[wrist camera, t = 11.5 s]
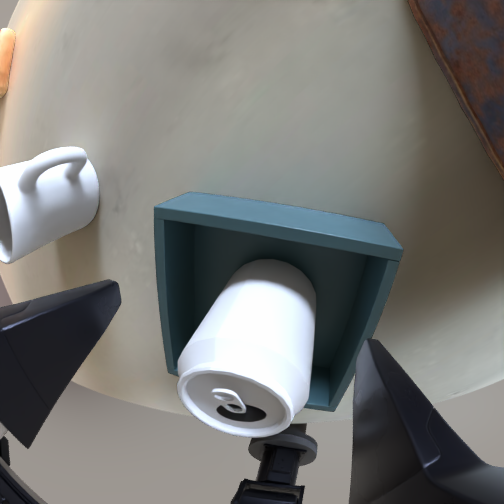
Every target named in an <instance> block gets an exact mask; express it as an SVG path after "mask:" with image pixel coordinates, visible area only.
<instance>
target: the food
mask: <svg viewBox="0 0 504 504" xmlns="http://www.w3.org/2000/svg"><path fill="white" fill-rule="evenodd" d="M15 38H16V36H15V32H14V31H13V30H12V29H8V28H3V29H2V30H0V98H2V97H3V96H4V95H5V93H6V92H7V88H8V82H9V72H10V67H11V62H12V54H13V50H14V45H15Z"/></svg>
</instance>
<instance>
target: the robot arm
mask: <svg viewBox="0 0 504 504" xmlns="http://www.w3.org/2000/svg"><path fill="white" fill-rule="evenodd" d="M120 305H121V295H120V289H119V284H118V283H117V282H116V281H113V280H104V281H100V282H96V283H93V284H89V285H85V286H81V287H78V288H74V289H70V290H66V291H63V292H59V293H55V294H51V295H48V296H44V297H40V298H36V299H33V300H29V301H25V302H21V303H18V304H14V305H9V306H4V307H0V504H47V503H46V502H45V501H44V500H43V499H42V498H40V497H39V496H38V495H37V494H36V493H35V492H34V491H33V490H31V489H30V488H29V487H28V486H27V485H26V484H25V483H24V482H23V481H22V480H21V479H20V478H19V477H18V476H17V475H16V474H15V473H14V471H12V469H11V468H10V467H9V466H10V458H9V445H8V440H7V439H6V437H5V436H4V435H5V434H6V432H7V431H8V430H9V431H10V432H11V433H12V434H13V435H14V436H15V437H16V438H17V439H18V440H19V441H20V442H21V443H22V444H23V445H24V446H25V447H26V448H27V449H29V447H30V446H31V444H32V442H33V441H34V439H35V437H36V435H37V434H38V432H39V430H40V428H41V427H42V425H43V423H44V422H45V420H46V418H47V417H48V415H49V414H50V411H51V410H52V408H53V407H54V405H55V403H56V402H57V400H58V399H59V397H60V395H61V394H62V393H63V391H64V390H65V388H66V387H67V385H68V384H69V382H70V381H71V379H72V378H73V376H74V375H75V373H76V372H77V370H78V369H79V367H80V366H81V364H82V363H83V362H84V360H85V359H86V357H87V356H88V354H89V353H90V352H91V350H92V349H93V347H94V346H95V345H96V343H97V342H98V341H99V339H100V338H101V336H102V335H103V333H104V332H105V330H106V328H107V327H108V325H109V323H110V322H111V320H112V318H113V317H114V315H115V313H116V312H117V310H118V309H119V307H120ZM306 454H307V450H303V449H296V448H289V447H283V446H278V445H272V444H267V443H265V444H263V447H262V450H261V453H260V456H259V460H260V461H261V463H260V467H259V471H258V474H257V477H256V481H252V480H248V479H244V480H243V481H241V483H240V485H239V488H238V491H237V492H236V494H235V496H234V497H233V499H232V501H231V504H302V500H303V494H304V488H305V486H295V484H296V478H297V474H298V468H299V464H300V463H301V461H302V460H303V458H304V457H305V455H306ZM349 504H504V468H502V467H495V466H492V465H489V464H486V463H485V462H484V461H482V460H481V459H480V458H479V457H478V456H477V455H476V454H475V453H474V452H473V451H472V450H471V449H470V448H469V447H468V446H467V444H466V443H465V442H463V440H462V439H461V438H460V437H459V436H458V435H457V434H456V433H455V432H454V430H453V429H452V428H451V427H450V426H449V425H448V424H447V422H446V421H445V420H444V419H443V417H442V416H441V415H440V414H439V413H438V411H437V410H436V409H435V408H433V405H432V404H431V403H430V401H429V400H428V399H427V398H426V396H425V395H424V394H423V393H422V391H421V390H420V389H419V388H418V387H417V385H416V384H415V383H414V382H413V380H412V379H411V378H410V377H409V376H408V374H407V373H406V372H405V371H404V370H403V368H402V367H401V366H400V365H399V364H398V363H397V361H396V360H395V359H394V358H393V357H392V355H391V354H390V353H389V352H388V351H387V350H386V348H385V347H384V346H383V345H382V344H381V343H380V341H379V340H377V339H369V338H367V339H366V340H365V341H364V343H363V346H362V348H361V350H360V352H359V354H358V357H357V361H356V372H355V384H354V395H353V451H352V471H351V485H350V497H349Z"/></svg>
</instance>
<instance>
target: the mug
mask: <svg viewBox="0 0 504 504" xmlns="http://www.w3.org/2000/svg"><path fill="white" fill-rule="evenodd" d="M98 205H99V183H98V179H97V175H96V172H95V170H94V168H93V166H92V164H91V163H90V161H89V160H88V159H87V154H86V152H85V151H84V150H83V149H81V148H79V147H62V148H57V149H53V150H50V151H47V152H44V153H42V154H40V155H38V156H37V157H35V158H34V159H33V160H30V161H26V162H21V163H17V164H13V165H9V166H5V167H1V168H0V261H2V262H3V263H5V264H10V263H13V262H15V261H16V260H18V259H20V258H22V257H24V256H25V255H27V254H29V253H31V252H33V251H35V250H37V249H39V248H41V247H43V246H44V245H46V244H48V243H50V242H52V241H54V240H56V239H58V238H61V237H63V236H65V235H67V234H69V233H71V232H74V231H76V230H79V229H81V228H83V227H85V226H86V225H88V224H89V223H90V222H91V221H92V220H93V218H94V216H95V214H96V212H97V209H98Z"/></svg>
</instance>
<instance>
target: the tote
mask: <svg viewBox="0 0 504 504" xmlns="http://www.w3.org/2000/svg"><path fill="white" fill-rule="evenodd" d="M154 241H155V262H156V277H157V290H158V301H159V311H160V320H161V329H162V337H163V344H164V351H165V358H166V364H167V369H168V373H170V374H173V375H176V376H178V377H179V375H178V359H179V357H180V355H181V353H182V352H183V350H184V348H185V347H186V345H187V344H188V342H189V341H190V339H191V337H192V336H193V334H194V333H195V331H196V330H197V328H198V327H199V325H200V324H201V322H202V321H203V319H204V318H205V316H206V315H207V313H208V312H209V310H210V309H211V307H212V306H213V304H214V303H215V301H216V300H217V298H218V297H219V295H220V294H221V292H222V291H223V289H224V287H225V286H226V284H227V283H228V281H229V280H230V278H231V277H232V275H233V274H234V273H235V272H236V271H237V270H238V269H239V268H241V267H242V266H243V265H244V264H247V263H250V262H252V261H255V260H261V259H275V260H279V261H283V262H287V263H289V264H291V265H292V266H294V267H296V268H297V269H299V270H301V271H302V272H303V273H304V275H305V276H306V277H307V278H308V279H309V280H310V281H311V283H312V286H313V288H314V291H315V293H316V321H315V335H314V348H313V360H312V370H311V380H310V389H309V398H308V400H307V402H306V404H305V406H304V407H303V408H308V409H315V410H322V411H330V412H334V411H335V410H336V408H337V406H338V404H339V402H340V401H341V399H342V397H343V395H344V393H345V392H346V390H347V388H348V386H349V384H350V382H351V380H352V378H353V376H354V374H355V372H356V361H357V357H358V354H359V352H360V350H361V348H362V346H363V343H364V341H365V340H366V339H367V338H369V339H371V338H372V336H373V333H374V331H375V329H376V326H377V324H378V321H379V319H380V316H381V314H382V311H383V309H384V306H385V304H386V301H387V298H388V295H389V293H390V290H391V287H392V284H393V281H394V278H395V275H396V272H397V269H398V266H399V263H400V262H399V261H400V260H401V257H402V253H403V250H404V249H403V248H402V246H401V245H400V244H399V242H398V241H397V240H396V239H395V237H394V236H393V235H392V233H391V232H390V231H389V229H388V228H387V227H386V226H385V224H384V223H379V222H374V221H370V220H365V219H360V218H355V217H350V216H345V215H340V214H335V213H329V212H324V211H318V210H313V209H307V208H301V207H296V206H290V205H284V204H277V203H271V202H264V201H258V200H251V199H244V198H237V197H229V196H222V195H214V194H206V193H197V192H188V193H186V194H183V195H181V196H178V197H176V198H173V199H171V200H168V201H166V202H164V203H161V204H159V205H156V206H154Z"/></svg>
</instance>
